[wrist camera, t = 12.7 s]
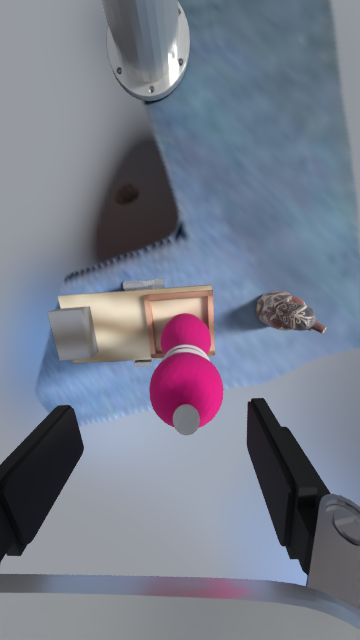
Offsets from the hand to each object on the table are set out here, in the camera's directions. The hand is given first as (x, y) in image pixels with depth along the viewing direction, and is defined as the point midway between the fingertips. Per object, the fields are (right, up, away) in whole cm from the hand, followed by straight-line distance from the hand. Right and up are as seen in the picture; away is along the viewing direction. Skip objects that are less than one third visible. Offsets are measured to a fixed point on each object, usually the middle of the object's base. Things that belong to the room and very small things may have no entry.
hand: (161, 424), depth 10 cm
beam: (-6, +5, +22) cm, 24 cm away
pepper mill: (+2, +4, +21) cm, 21 cm away
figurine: (+20, +8, +28) cm, 35 cm away
